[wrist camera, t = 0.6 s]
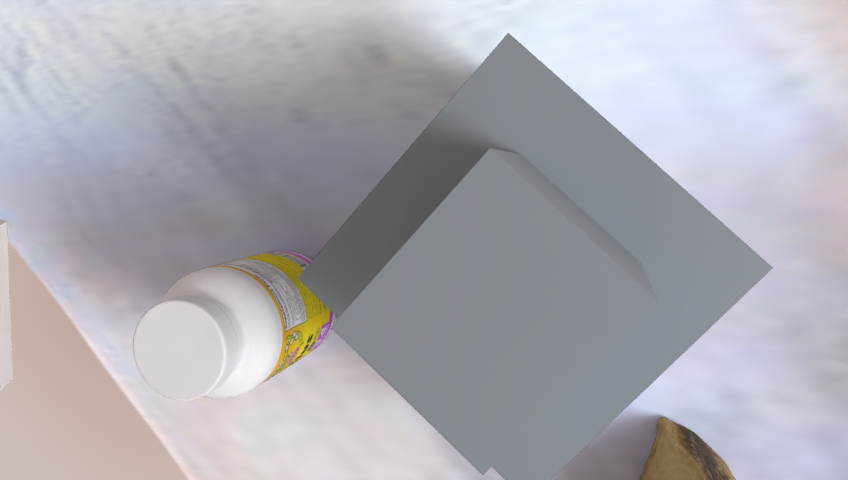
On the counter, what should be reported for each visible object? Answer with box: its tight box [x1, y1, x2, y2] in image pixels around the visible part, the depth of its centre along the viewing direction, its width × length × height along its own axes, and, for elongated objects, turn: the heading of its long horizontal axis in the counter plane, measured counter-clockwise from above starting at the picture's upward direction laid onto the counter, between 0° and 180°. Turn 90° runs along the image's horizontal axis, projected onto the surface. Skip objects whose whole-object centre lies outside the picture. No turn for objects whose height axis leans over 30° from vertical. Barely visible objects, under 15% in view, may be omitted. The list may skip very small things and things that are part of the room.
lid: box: [298, 33, 773, 480], centre depth 30 cm, size 15×15×11 cm
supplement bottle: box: [133, 251, 335, 400], centre depth 40 cm, size 7×7×13 cm
